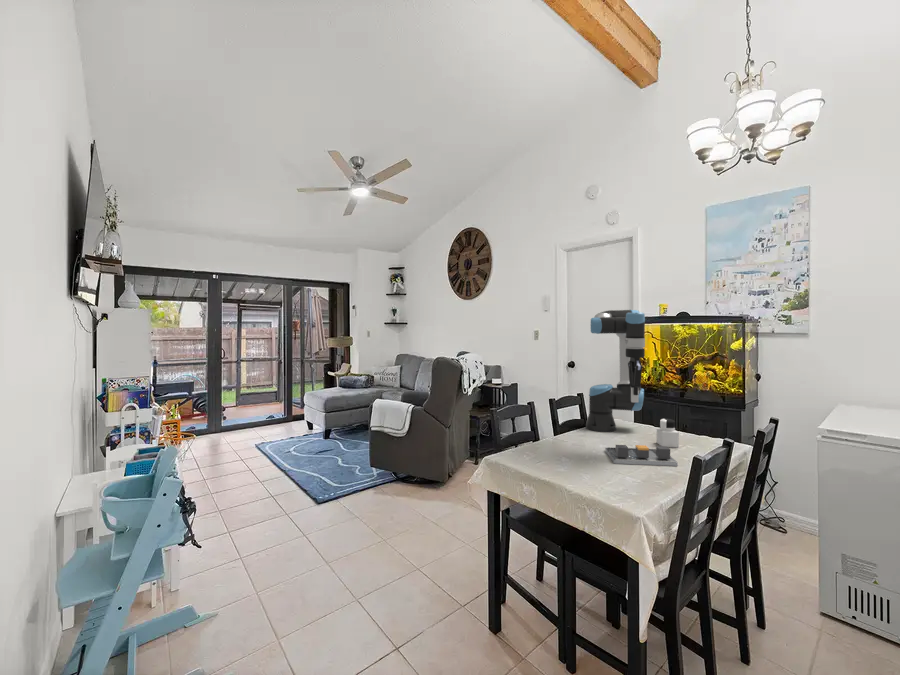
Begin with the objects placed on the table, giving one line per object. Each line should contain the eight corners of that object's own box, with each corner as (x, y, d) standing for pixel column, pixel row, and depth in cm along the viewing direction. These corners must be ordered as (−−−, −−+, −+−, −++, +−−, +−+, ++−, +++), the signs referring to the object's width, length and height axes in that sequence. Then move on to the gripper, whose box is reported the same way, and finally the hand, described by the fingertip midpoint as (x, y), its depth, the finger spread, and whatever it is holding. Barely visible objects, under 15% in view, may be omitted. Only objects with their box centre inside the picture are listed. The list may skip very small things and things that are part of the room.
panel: (605, 451, 181) (605, 447, 181) (662, 453, 177) (662, 449, 177) (613, 463, 165) (614, 459, 165) (677, 466, 161) (677, 461, 161)
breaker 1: (615, 454, 171) (615, 444, 170) (625, 454, 170) (625, 445, 170) (617, 457, 167) (617, 447, 166) (628, 457, 166) (628, 448, 166)
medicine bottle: (672, 442, 191) (672, 417, 191) (679, 447, 184) (679, 421, 184) (656, 442, 192) (656, 417, 191) (662, 447, 185) (662, 421, 184)
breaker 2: (656, 455, 168) (656, 446, 168) (666, 455, 167) (666, 446, 167) (659, 458, 164) (659, 449, 164) (670, 459, 164) (670, 449, 163)
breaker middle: (635, 454, 170) (635, 445, 169) (645, 454, 169) (645, 445, 169) (638, 457, 166) (638, 448, 165) (648, 458, 165) (648, 448, 165)
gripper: (621, 347, 183) (621, 399, 184) (630, 349, 170) (629, 405, 171) (639, 346, 182) (639, 399, 183) (649, 349, 169) (648, 405, 170)
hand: (634, 402), depth 177 cm, fingers closed
